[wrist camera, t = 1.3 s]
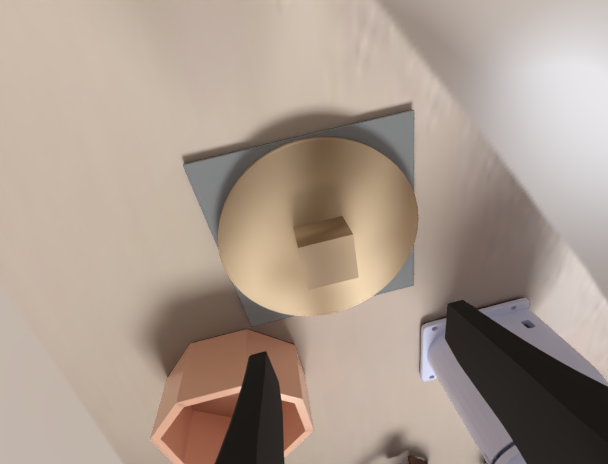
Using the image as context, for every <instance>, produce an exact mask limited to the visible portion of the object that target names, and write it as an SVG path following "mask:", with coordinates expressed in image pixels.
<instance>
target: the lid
mask: <svg viewBox="0 0 608 464" xmlns="http://www.w3.org/2000/svg"><path fill="white" fill-rule="evenodd" d="M417 229H418V207H417V202H416V198H415V195H414V192H413V190H412V187H411V185H410V183H409V181H408V180H407V178H406V176H405V175H404V174H403V172H402V171H401V170H400V169H399V168H398V166H397V165H395V164H394V163H393V162H392V161H391V160H390V159H388V158H387V157H386V156H384V155H383V154H381V153H380V152H378V151H377V150H375V149H373V148H372V147H370V146H368V145H365V144H363V143H360V142H358V141H354V140H350V139H346V138H340V137H331V136H328V137H312V138H306V139H300V140H297V141H294V142H290V143H287V144H284V145H282V146H280V147H278V148H276V149H274V150H272V151H270V152H268V153H267V154H265V155H264V156H262V157H261V158H259V159H258V160H257V161H255V162H254V163H253V164H252V165H251V166H250V167H248V168H247V169H246V171H245V172H244V173H243V174H242V175H241V176H240V177H239V178H238V180H237V181H236V183H235V184H234V186H233V187H232V189H231V190H230V192H229V194H228V196H227V199H226V201H225V203H224V206H223V210H222V213H221V217H220V221H219V228H218V248H219V254H220V258H221V261H222V264H223V267H224V269H225V271H226V273H227V274H228V276H229V278H230V279H231V281H232V282H233V283H234V285H235V286H236V287H237V288H238V289H239V290H240V291H241V292H242V293H243V294H244V295H245V296H247V297H248V298H249V299H251V300H252V301H254V302H255V303H257V304H259V305H260V306H263V307H265V308H267V309H269V310H272V311H275V312H279V313H282V314H288V315H294V316H319V315H326V314H331V313H336V312H339V311H343V310H346V309H348V308H351V307H353V306H356V305H358V304H360V303H362V302H364V301H365V300H367V299H369V298H370V297H372V296H373V295H375V294H376V293H378V292H379V291H380V290H381V289H383V288H384V287H385V286H386V285H387V284H388V283H389V282H390V281H391V280H392V279H393V278H394V277H395V276H396V275H397V273H398V272H399V271H400V270H401V268H402V267H403V265H404V264H405V262H406V260H407V258H408V256H409V254H410V253H411V250H412V248H413V245H414V242H415V238H416V234H417Z"/></svg>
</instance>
